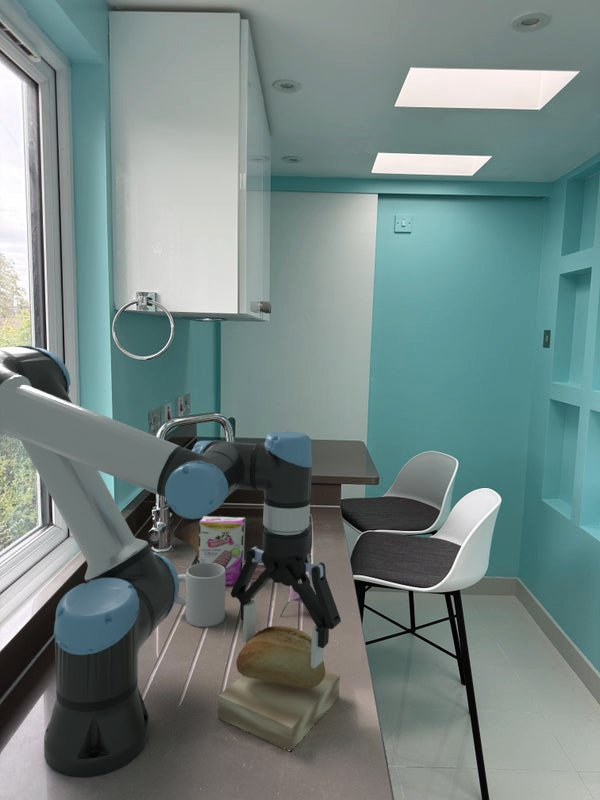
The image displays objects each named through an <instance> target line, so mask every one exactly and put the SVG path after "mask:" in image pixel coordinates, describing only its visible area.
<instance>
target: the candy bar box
mask: <svg viewBox="0 0 600 800" xmlns="http://www.w3.org/2000/svg"><path fill="white" fill-rule="evenodd" d="M245 537H246V517H239V516H238V517H235V516H212V515H210V516H209V515H206V516H204V517H201V518H200V520H199V523H198V553H197V555H198V563H197V564H199V563H216V564H219V565H221V566H223V567H224V568H225V587H226V586H228V587H231V586H232V587H234V585H235V583H236V581H237V579H238V577H239V575H240V573H241V570H242V568H243V566H244V564H245V542H246V541H245V539H246V538H245Z"/></svg>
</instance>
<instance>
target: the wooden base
mask: <svg viewBox="0 0 600 800" xmlns="http://www.w3.org/2000/svg"><path fill="white" fill-rule="evenodd" d="M340 677H341V675H339V674H336V673H333V672H330V671H328V670H326V669H325V677H324V680H322V682H321V683H320V684H319V685H317V686H315V687H313V688H301V687H296V686H291V685H287V684H282V683H276V682H271V681H265V680H260V679H254V678H249V677H246V676H243V675H241V676H240V677H239V678H238V679H237V680H235V681H234V682H233V683H232V684H230V685H229V686H228V687H227V688H226V689H224V690H223V691H222V692H220V694H218V696H217V697H218V698H217V719H218V718H219V719H218V720H220V719H221V720H220V721H222V720H223V722H224V721H225V723H227V724H229V723H230V725H231V724H232V725H231V726H233V725H234V726H233V727H235V726H237V727H239V728H241V729H240V730H242V729H243V730H242V731H243V732H244V731H245V732H246V731H247V733H248V732H250V733H251V734H250V733H249V734H250V735H252V734H253V736H254V735H255V737H257V736H258V737H257V738H259V737H260V738H259V739H261V738H262V739H261V740H263V739H265V740H267V741H269V742H268V743H270V742H271V743H270V744H272V743H273V744H272V745H274V744H275V745H274V746H276V745H278V746H280V747H282V748H285V749H287V750H290V751H291V750H292V749H293V748H294V747H295V746H296V745H297V744H298V743H299V744H300V743H301V741H302V740H303V739H304V738H305V737H306V736H307V734H308V733H309V732H310V731H311V730H312V729H313V728H312V727H314V726H315V725H316V724H317V723H318V722H319V721H320V720H321V719H322V718H323V716H324V715H325V714H326V713H327V712H328V711H329V710H330V708H331V707H332V706H333V705H334V704H335V702H337V700H338V699H339V698H340V679H341V678H340ZM333 703H334V704H333ZM326 711H327V712H326ZM324 713H325V714H324ZM319 719H320V720H319ZM318 720H319V721H318ZM317 721H318V722H317ZM316 722H317V723H316ZM315 723H316V724H315ZM314 724H315V725H314ZM237 727H236V728H237ZM239 728H238V729H239ZM311 728H312V729H311ZM310 729H311V730H310ZM305 735H306V736H305ZM304 736H305V737H304ZM303 737H304V738H303ZM265 740H264V741H265ZM267 741H266V742H267ZM299 744H298V745H299ZM298 745H297V746H298ZM278 746H277V747H278ZM297 746H296V747H297ZM280 747H279V748H280ZM296 747H295V748H296ZM282 748H281V749H282ZM295 748H294V749H295ZM285 749H284V750H285ZM294 749H293V750H294ZM287 750H286V751H287ZM293 750H292V751H293Z"/></svg>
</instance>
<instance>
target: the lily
mask: <svg viewBox="0 0 600 800" xmlns="http://www.w3.org/2000/svg"><path fill="white" fill-rule="evenodd" d="M288 593H289V594H288V597H289V598H288V601H287V602H286V603H285V605H284V607H282V611H281V613H280V616H279V617H280V618H281V617H282V615H283V613H284V611H285V609H286V608H287V606H288V604H289V603H290V602H298V603H301V604H304V603H303V602H302V600H301V598H300V596H299V595H298V593H297V592H295V591H294V590H293V588H292V586H288Z"/></svg>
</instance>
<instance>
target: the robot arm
mask: <svg viewBox="0 0 600 800" xmlns="http://www.w3.org/2000/svg"><path fill="white" fill-rule="evenodd" d="M70 386H71V377H70V373H69V371H68V368H67V366H66V365H65V363H64V362H63V361H62V359H60V357H58V356H57V355H56V354H54V353H53V352H51V351H50V350H47V349H45V348H41V347H34V346H31V345H18V346H17V345H16V346H12V347H11V346H10V347H0V437H4V436H6V437H9V438H12V439H16V440H19V441H20V442H21V444H22V446H23V447H24V449H25V450H26V451H25V452H26V453H27V454H28V456H29V458H30V460H31V462H32V464H33V466H34V467H35V469H36V471H37V473H38V475H39V477H40V478H41V481H42V483H43V484H44V485H45V487H46V490H47V492H48V493H49V495H50V497H51V499H52V500H53V503H54V505H55V506H56V508H57V509H58V511H59V513H60V515H61V517H62V519H63V520H64V523H65V524H66V526H67V528H68V530H69V532H70V534H71V535H72V537H73V539H74V541H75V542H76V545H77V547H78V549H79V551H80V552H81V553H82V556H83V557H84V559H85V561H86V563H87V569H86V571H85V575H84V580H85V582H86V583H84V582H83V583H80V584H78V585H76V586H74V587H73V588H71V589H69V590H68V591H67V592H66V593H65V594H64V595H63V597H62V598H61V599H60V600H59V602H58V604H57V607H56V610H55V620H54V625H53V635H54V647H55V653H54V654H55V687H56V688H55V689H56V690H55V691H56V693H55V695H56V697H55V699H56V700H55V702H54V705H53V709H52V713H51V717H50V721H48V722H49V723H48V725H47V727H46V729H45V731H44V737H43V752H44V753H43V754H44V758H45V761H46V763H47V764H48V765H49V766H50V768H52V769H53V770H54V771H56V772H58V773H60V774H62V775H63V774H64V775H67V776H69V777H70V776H71V777H93V776H99V775H103V774H107V773H110V772H112V771H115V770H117V769H119V768H121V767H124V766H125V765H127V764H129V762H131V761H133V760H134V759H136V757H137V756H138V755H139V754H140V753H141V752H142V751H143V749H144V748H145V746H146V745H147V742H148V741H149V738H150V716H149V713H148V710H147V707H146V704H145V702H144V701H145V700H144V699H143V697H142V694H141V691H140V689H139V685H138V683H139V682H138V681H139V680H138V679H139V678H138V677H139V676H138V674H139V671H138V670H139V666H138V665H139V664H138V663H139V662H138V661H139V660H138V659H139V657H138V656H139V651H140V649H141V648H142V646H143V645H144V644H145V643H146V642H147V640H148V639H149V638H150V637H151V635H152V634H153V633H154V631H155V630H156V628H158V626H160V624H161V623H163V622H164V620H166V618H167V617H168V616H169V615H170V613H171V611H172V609H173V607H174V606H175V604H176V603H175V602H176V600H177V597H178V596H179V592H180V582H179V579H178V575H179V574H178V573H177V572H178V571H177V570H176V568H175V566H174V564H173V563H172V561H170V559H169V558H167V557H166V556H164V555H160V554H159V553H158V552H155V551H153V549H152V548H151V546H150V545H149V543H148V541H146V540H144V539H140V538H137V537H135V536H134V533H133V531H132V530H131V529H130V526H129V525H128V523H127V520H126V519H125V518H124V516H123V514H122V511H121V510H120V508H119V506H118V505H117V503H116V500H115V499H114V497H113V494H111V491H110V490H109V488H108V486H107V484H106V483H105V481H104V480H105V479H103V477H102V475H101V473H100V472H102V473H104V474H106V475H110V476H112V477H114V478H116V479H119V480H122V481H123V482H126V483H128V484H131V485H133V486H136V487H137V488H138V487H139V488H141V489H143V490H146V491H148V492H151V493H153V494H155V495H158V496H161V497H163V498H165V499H166V503H167V504H168V507H170V509H171V510H172V511H173V512H174V513H175V514H176V515H177V516H179V517H181V518H184V519H188V520H196V519H201V518H202V517H204V516H209V515H210V514H211V513H212V512H215V511H216V510H218V508H219V507H221V506H222V505H223V503H224V502H225V500H226V499H227V498H228V497H229V496H230V495H232V494H233V493H234V492H235V491H236V490H246V491H247V490H250V491H263V494H264V495H263V514H262V515H263V517H262V519H263V520H262V525H263V526H264V528H263V530H262V549H261V546H259V545H255V546H254V547H252V548H250V549H248V550H247V551H246V559H245V561H244V566H243V568H242V570H241V573H240V575H239V577H238V579H237V581H236V583H235V585H234V586H232V589H231V591H230V596H231V598H236V599H237V600H238V601H239V603H240V606H239V607H240V610H239V611H240V613H239V617H240V621H243V624H242V625H243V626H242V643H244V644H246V643H247V642H248V641H249V640H250V639H251V638H252V637H254V635H256V634H257V631H256V630H257V606H258V605H257V604H258V602H257V600H256V599H253V598H255V597H256V595H257V594H258V593H259V592H260V591H261V590H262V588H264V586H265V585H267V583H269V581H270V580H272V581H273V583H276V584H282V585H284V586H286V587H290V586H292V588H293V590H294V591H295V592H297V593H298V595H299V596H300V598H301V600H302V602H303V603H302V604H303V605H304V607H305V608H306V610H307V612H308V614H309V616H310V618H311V619H312V621H313V622H314V624H315V625H314V627H312V629H311V638H312V648H311V667H312V668H316V667H317V666H318V665H319V664H320V663H321V662H322V661H324V648H325V647H327V645H328V644H329V638H330V630H334V629H335V627H337V626H338V625H339V624H340V623H341V620H342V619H341V616H340V613H339V611H338V608H337V604H336V602H335V600H334V595H333V593H332V591H331V588H330V584H329V581H328V579H327V576H326V565H325V563H324V562H319V563H316V564H315V563H310V562H309V560H308V552H309V547H310V546H309V544H310V530H309V529H308V527H309V526H310V513H311V489H312V473H313V472H312V471H313V458H312V457H313V456H312V455H313V453H312V452H313V451H312V450H313V448H312V440H311V438H310V436H309V435H307V434H306V433H303V432H298V431H281V430H279V431H274V432H273V431H272V432H269V433H268V434H267V435H266V437H265V441H264V442H263V443H251V442H247V443H246V442H237V441H235V442H234V441H226V440H225V441H222V440H220V439H214V440H199V441H197V442H196V443H195V444H194V445H193V448H192V449H191V450H190V449H188V448H186V447H182V446H180V445H178V444H176V443H173V442H170V441H168V440H165V439H163V438H160V437H159V436H156V435H154V434H151V433H149V432H146V431H143V430H140V429H138V428H136V427H134V426H131V425H128V424H127V423H126V424H125V423H124V422H121V421H119V420H115V419H113V418H111V417H108V416H106V415H104V414H100V413H98V412H96V411H93V410H91V409H88V408H85V407H83V406H81V405H78V404H75V403H73V402H72V400H71V398H70V396H69V394H70ZM260 561H261V562H262V563H263V566H264V568H265V569H264V570H263V571H262V572H261V573H260V574H259V576H258V577H257V578H256V580H255V581H254V582H253V583H252V584H251V585H250V586H249V588H247V587H248V585H249V583H250V580H251V579H252V576H253V575H254V573H255V571H256V569H257V567H258V565H259V562H260ZM307 572H308V574H309V576H308V574H307ZM299 581H301V583H300V582H299ZM311 583H312V585H311ZM246 588H247V589H246Z"/></svg>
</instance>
